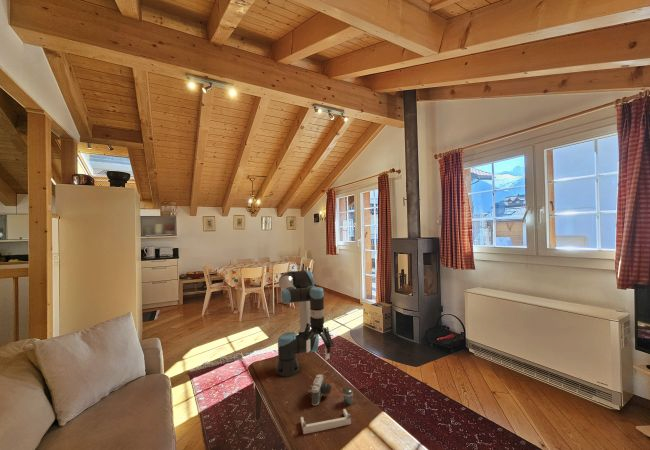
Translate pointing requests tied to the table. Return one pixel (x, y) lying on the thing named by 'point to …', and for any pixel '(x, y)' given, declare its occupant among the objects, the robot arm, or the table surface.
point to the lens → (347, 396)
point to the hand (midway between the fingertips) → (317, 355)
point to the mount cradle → (326, 424)
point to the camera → (319, 389)
